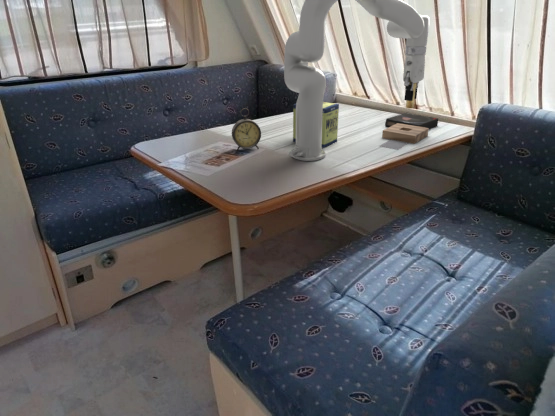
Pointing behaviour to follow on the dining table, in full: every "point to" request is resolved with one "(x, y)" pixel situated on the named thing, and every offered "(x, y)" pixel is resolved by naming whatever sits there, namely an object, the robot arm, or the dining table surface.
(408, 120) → the portable cd player
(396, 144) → the mat
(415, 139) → the block
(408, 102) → the pin
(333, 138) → the protein box
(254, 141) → the alarm clock
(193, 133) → the dining table surface
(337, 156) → the dining table surface
